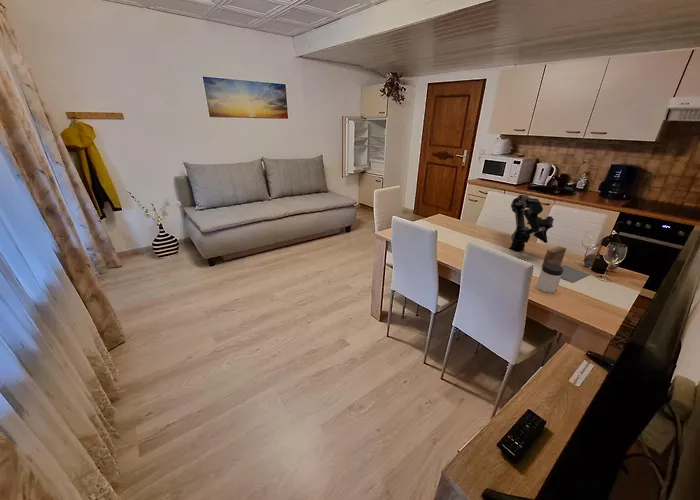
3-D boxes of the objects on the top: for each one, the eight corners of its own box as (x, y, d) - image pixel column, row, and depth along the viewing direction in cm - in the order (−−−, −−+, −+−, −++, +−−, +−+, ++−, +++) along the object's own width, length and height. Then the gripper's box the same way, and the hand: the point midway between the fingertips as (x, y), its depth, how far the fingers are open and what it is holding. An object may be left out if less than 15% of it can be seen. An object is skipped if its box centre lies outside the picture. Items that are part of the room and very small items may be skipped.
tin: (582, 266, 168) (587, 253, 165) (581, 264, 171) (586, 251, 167) (615, 273, 162) (621, 259, 159) (613, 270, 165) (619, 257, 161)
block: (541, 267, 166) (547, 249, 162) (552, 263, 172) (558, 246, 167) (548, 270, 163) (554, 252, 158) (560, 266, 168) (566, 248, 164)
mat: (546, 272, 161) (546, 271, 161) (563, 265, 169) (564, 264, 169) (572, 282, 151) (572, 282, 151) (589, 274, 159) (589, 274, 159)
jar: (537, 291, 143) (545, 269, 138) (533, 282, 150) (540, 261, 145) (558, 294, 141) (567, 272, 136) (553, 286, 148) (561, 264, 143)
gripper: (536, 214, 160) (550, 239, 156) (554, 209, 168) (569, 233, 164) (518, 223, 169) (532, 247, 165) (537, 218, 178) (550, 242, 174)
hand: (546, 242), depth 167 cm, fingers closed
